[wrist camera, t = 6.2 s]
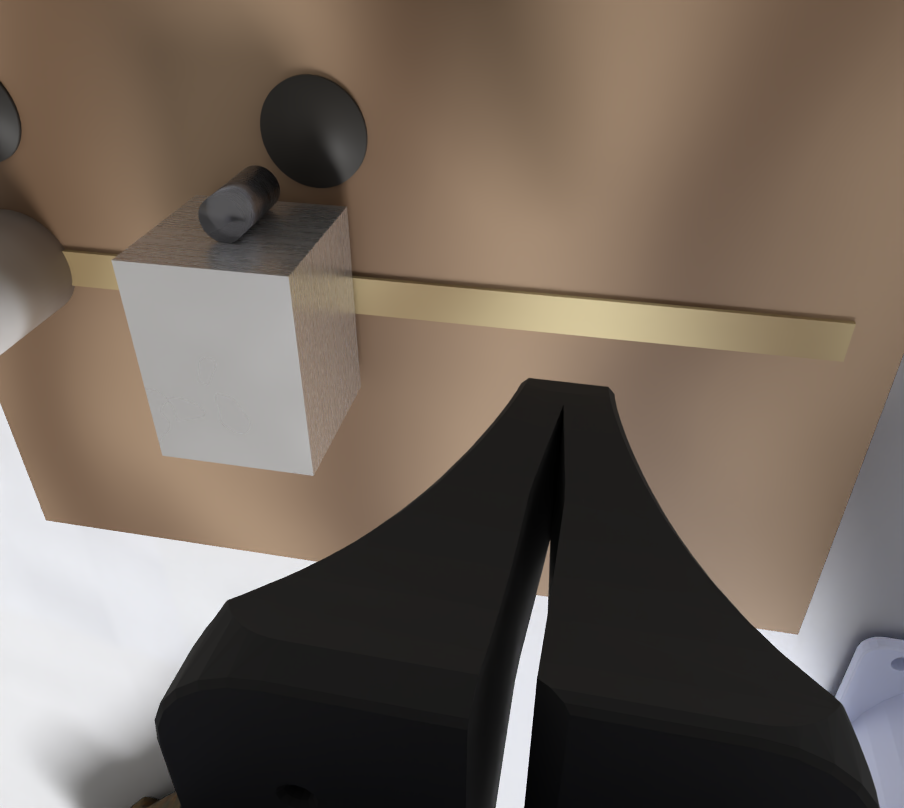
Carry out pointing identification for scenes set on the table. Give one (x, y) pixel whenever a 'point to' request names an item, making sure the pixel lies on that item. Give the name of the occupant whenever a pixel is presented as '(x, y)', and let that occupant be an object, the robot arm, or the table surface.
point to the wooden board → (479, 248)
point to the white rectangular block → (245, 326)
